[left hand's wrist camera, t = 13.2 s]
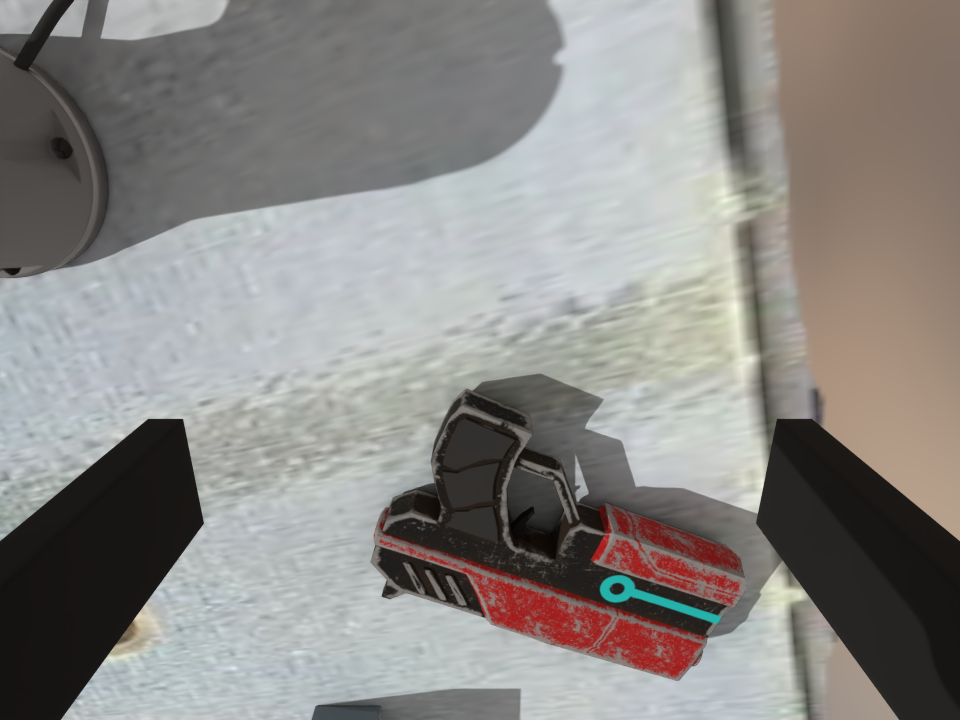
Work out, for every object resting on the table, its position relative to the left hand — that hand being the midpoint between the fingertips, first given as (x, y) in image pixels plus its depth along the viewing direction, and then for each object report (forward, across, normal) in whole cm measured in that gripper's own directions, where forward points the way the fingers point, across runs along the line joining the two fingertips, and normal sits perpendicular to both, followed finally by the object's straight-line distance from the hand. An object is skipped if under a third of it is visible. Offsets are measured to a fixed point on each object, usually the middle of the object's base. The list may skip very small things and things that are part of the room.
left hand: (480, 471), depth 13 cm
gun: (+31, +7, -25) cm, 41 cm away
